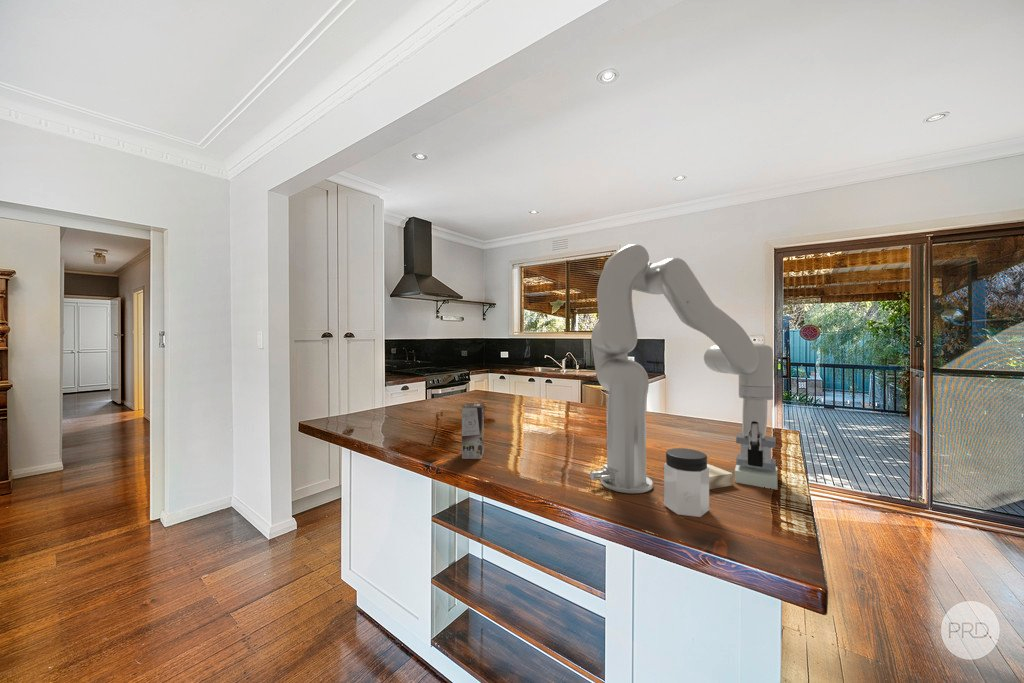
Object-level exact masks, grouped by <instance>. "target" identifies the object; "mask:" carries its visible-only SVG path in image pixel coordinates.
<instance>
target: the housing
mask: <svg viewBox="0 0 1024 683" xmlns="http://www.w3.org/2000/svg"><path fill="white" fill-rule="evenodd" d="M751 437H752V435H751ZM735 438H736V439H735V440H736V444H738V445H739V444H740V453H737V457H736V459H735V460H736V461H735V462H736V463H735V464H736V465H741V466H747V467H754V468H760V469H767V470H773V471H776V467H777V466H776V465H777V463H776V461H777V460H776V459H775V458H772V448H773V449H776V448H777V447H776V446H777V445H776V444H777V443H776V441H777V440H776V438H777V437H776V436H775V437H774V436H766V435H765V438H764V439H762V451H763V467H757V466H751V465H748V449H749V434H748V436H745V437H743V436H742V432H740V433H737V435H736V437H735ZM758 438H760V436H758ZM758 442H759V441H758ZM736 465H735V466H736Z"/></svg>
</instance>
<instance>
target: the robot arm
mask: <svg viewBox="0 0 1024 683" xmlns="http://www.w3.org/2000/svg"><path fill="white" fill-rule="evenodd" d="M598 279H599V280H598V283H597V288H596V301H597V302H596V303H597V311H598V312H597V313H598V322H597V323H596V325H595V326H594V327H593V329H592V331H591V338H590V339H591V340H590V341H591V349H592V356H593V362H594V368H595V369H594V370H595V374H596V378H597V381H598V383H599V385H600V387H602V388H603V389H604V390H606V391H607V392H608V396H607V403H606V405H607V406H606V464H603V468H602V469H600V470H594V471H590V472H589V477H590V479H591V480H594V481H595V480H599V481H600V483H601V485H603V487H605V488H606V489H609V490H611V491H614V492H619V493H622V494H643V493H646V492H649V491H651V490H652V489H653V488H654V482H653V480H652V479H651V478H650V477H649V476H647V422H646V421H647V419H646V417H647V416H646V415H647V414H646V413H647V400H648V394H649V387H650V386H649V385H650V384H649V382H650V381H649V380H650V379H649V375H648V373H647V371H646V369H645V368H644V367H643V366H642V364H640V363H639V362H637V361H635V360H633V359H629V357H628V356H629V355H628V353H630V352H632V351H633V350H634V349H635V348H636V346H637V343H638V332H637V326H636V320H635V319H636V318H635V312H634V307H633V306H634V304H633V291H637V292H641V293H646V294H650V295H663V296H664V297H665V299H666V300H667V302H668V303H669V304H670V307H672V309H673V311H674V313H675V314H676V316H677V317H678V319H679V320H680V322H682V323H683V324H684V325H685V326H688V327H689V328H692V329H693V330H694V331H695V330H696V331H698V332H699V333H701V334H703V335H705V337H707V338H709V339H710V340H711V341H712V343H714V344H715V345H711V346H710V347H708V348H707V349H706V350H705V352H704V355H703V361H704V364H705V365H706V367H708V368H709V369H710V370H712V371H714V372H716V373H719V374H720V373H723V374H730V375H737V376H738V398H740V399H742V415H741V416H742V418H741V419H742V420H741V421H742V431H741V434H742V436H743V437H745V436H748V434H749V449H748V465H751V466H757V467H763V451H762V439H764V438H765V436H766V435H767V434H766V432H767V426H768V425H767V424H768V401H771V400H774V350H773V347H772V346H770V345H767V344H754V342H753V341H752V340H751V338H750V337H749V335H748V334H747V332H746V331H745V329H744V328H743V327H742V325H740V324H739V322H737V321H736V320H735V319H733V318H732V317H731V316H730V315H728V314H727V313H726V312H725V311H723V310H722V309H721V308H720V307H718V306H717V305H715V304H714V303H713V301H712V300H711V298H710V297H709V295H708V293H707V292H706V291H705V289H704V286H702V284H701V283H700V282H699V280H698V278H697V276H696V275H695V273H694V272H693V271H692V269H691V268H690V266H689V265H688V263H687V262H686V260H683V259H682V258H679V257H670V258H666V259H663V260H661V261H659V262H655V263H654V262H650V255H649V252H648V250H647V249H646V247H644V246H643V245H642V244H636V243H633V244H627V245H626V246H624V247H622V248H620V249H619V250H617V251H616V252H615V253H613V254H612V255H611V256H610V257H609V258H608V259H607V260H606V261H605V263H604V265H603V270H602V271H601V274H600V277H599V278H598ZM751 435H752V437H751ZM758 436H760V438H758ZM758 441H759V442H758Z"/></svg>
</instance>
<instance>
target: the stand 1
mask: <svg viewBox="0 0 1024 683" xmlns="http://www.w3.org/2000/svg"><path fill="white" fill-rule="evenodd" d="M707 467H709V490H713V489H719V488H724V487H730V486H733V485H734V484H733V483H734V482H733V481H734V478H733V477H734V476H733V475H734V473H732V472H731V471H727V470H725V469H722V468H720V467H717V466H715V465H712V464H709V463H707Z"/></svg>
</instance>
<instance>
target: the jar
mask: <svg viewBox="0 0 1024 683" xmlns="http://www.w3.org/2000/svg"><path fill="white" fill-rule="evenodd" d="M707 464H708V456H707V454H706V453H704V452H702V451H700V450H696V449H691V448H683V447H681V448H680V447H679V448H678V447H675V448H670V449H667V450H666V451H665V463H663V498H664V500H663V505H664V506H665V507H666V508H668V509H669V510H671V512H674V513H675V514H676V515H679V516H687V517H695V518H696V517H697V518H702V517H703V516H704V515H705V514H706V513H708V512H709V511H710V489H709V467H707Z"/></svg>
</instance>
